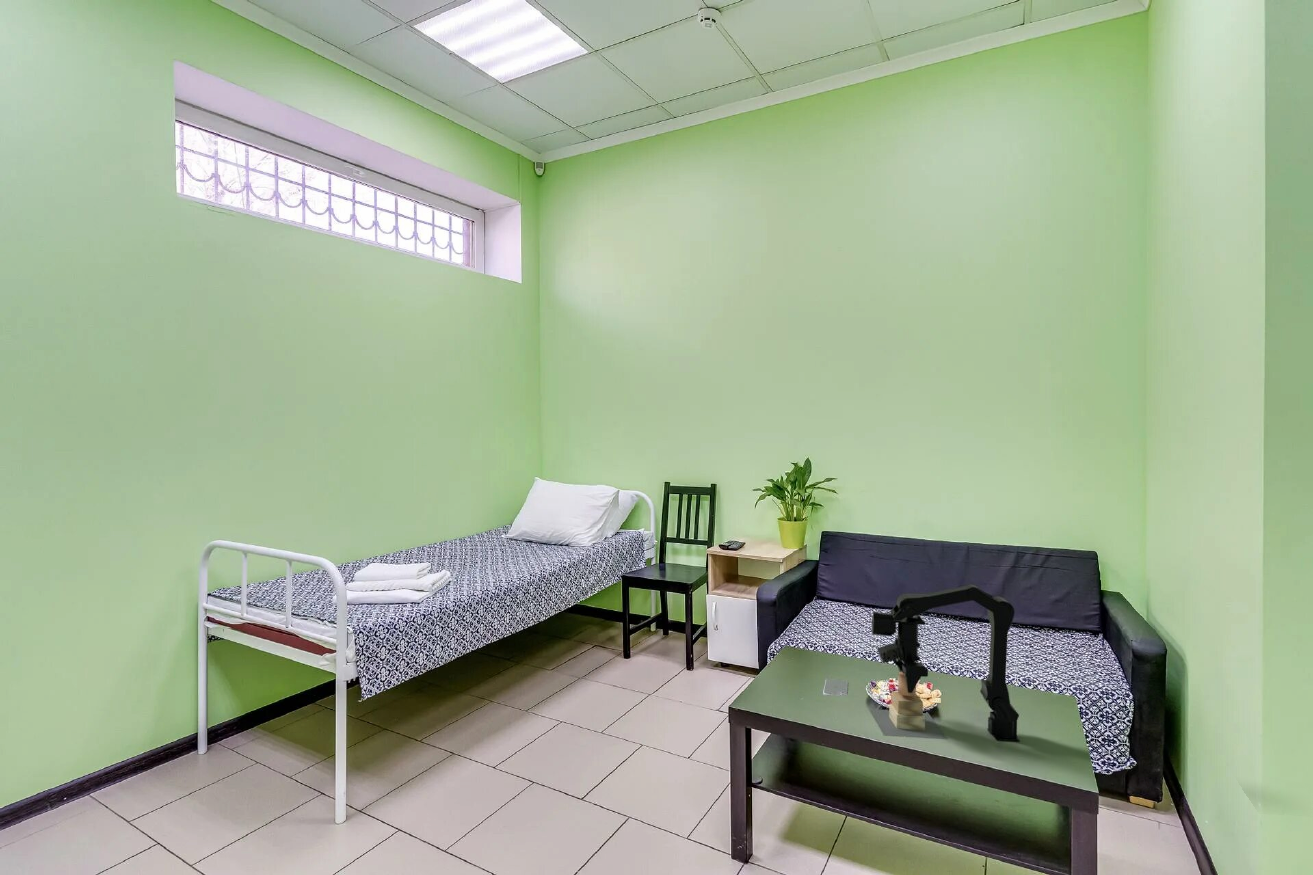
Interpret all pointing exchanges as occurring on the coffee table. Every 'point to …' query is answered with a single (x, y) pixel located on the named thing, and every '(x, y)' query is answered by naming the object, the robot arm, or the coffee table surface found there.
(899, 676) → the terracotta cylinder
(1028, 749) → the coffee table surface
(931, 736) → the rubber mat
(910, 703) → the top block
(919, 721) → the base block
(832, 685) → the mobile phone
